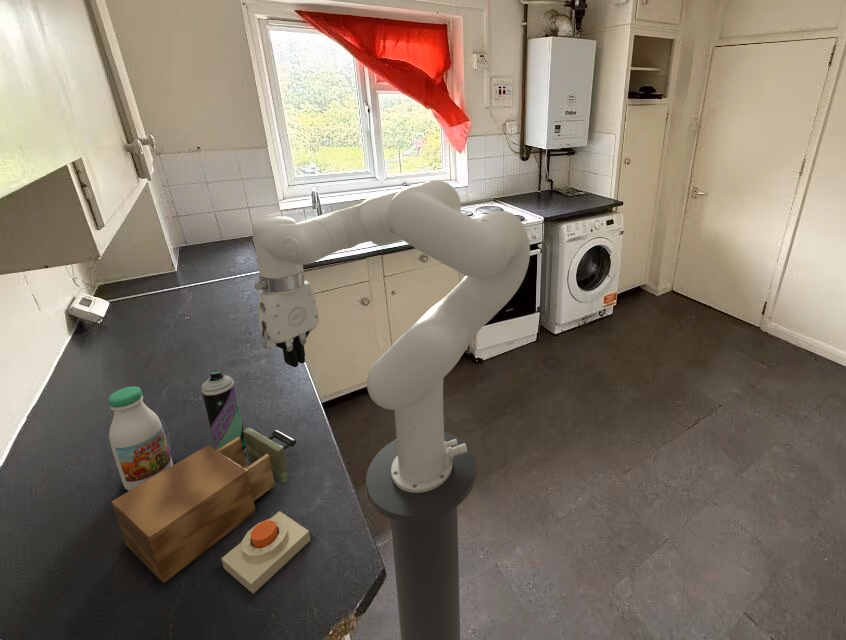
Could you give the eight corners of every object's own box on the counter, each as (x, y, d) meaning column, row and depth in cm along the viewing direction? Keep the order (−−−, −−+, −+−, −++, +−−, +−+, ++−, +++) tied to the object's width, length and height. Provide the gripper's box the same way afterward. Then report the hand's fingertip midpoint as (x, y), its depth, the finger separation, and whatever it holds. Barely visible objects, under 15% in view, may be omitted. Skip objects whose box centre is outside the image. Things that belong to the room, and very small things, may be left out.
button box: (281, 520, 76) (278, 502, 75) (310, 540, 73) (307, 522, 72) (223, 568, 68) (218, 550, 67) (253, 594, 64) (248, 575, 63)
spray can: (211, 457, 90) (191, 376, 84) (234, 440, 95) (217, 362, 89) (230, 464, 88) (212, 382, 82) (253, 446, 93) (237, 367, 87)
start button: (269, 524, 72) (267, 516, 71) (282, 534, 70) (280, 526, 70) (247, 541, 69) (245, 533, 68) (261, 552, 67) (259, 544, 67)
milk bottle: (113, 493, 81) (83, 406, 75) (145, 462, 88) (120, 380, 82) (154, 493, 81) (128, 405, 75) (183, 462, 89) (161, 380, 82)
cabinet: (217, 484, 84) (208, 444, 81) (256, 511, 78) (247, 470, 75) (126, 545, 71) (110, 501, 68) (163, 583, 66) (149, 537, 63)
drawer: (273, 445, 93) (268, 415, 90) (307, 465, 88) (303, 434, 85) (182, 505, 78) (173, 472, 75) (217, 534, 73) (208, 499, 70)
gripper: (256, 298, 74) (271, 387, 79) (329, 272, 87) (338, 351, 92) (231, 289, 77) (248, 376, 83) (305, 266, 90) (315, 342, 96)
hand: (295, 362), depth 88 cm, fingers closed
